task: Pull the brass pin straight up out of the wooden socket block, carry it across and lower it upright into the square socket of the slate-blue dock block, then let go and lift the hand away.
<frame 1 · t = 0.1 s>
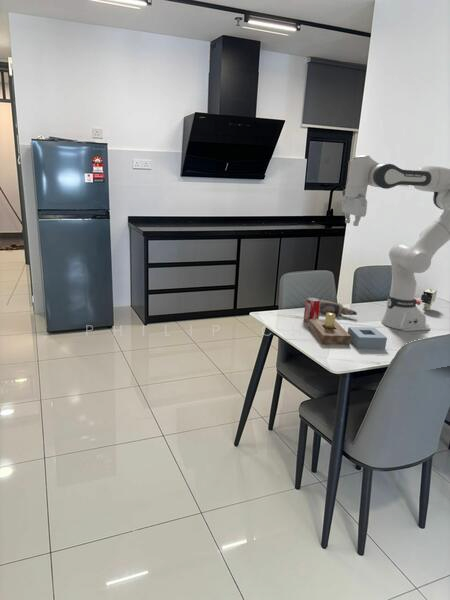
hand: (351, 224, 200), 48 cm above the table, tool pointing down, fingers open, 8 cm apart
decorative bottle: (328, 314, 228), on the table
pneumatic valve: (425, 309, 246), on the table
brass pin: (327, 335, 194), point 1 cm above the table, touching wooden socket block
soda can: (310, 323, 212), on the table
dock block: (365, 345, 189), on the table
wooden socket block: (327, 337, 195), on the table
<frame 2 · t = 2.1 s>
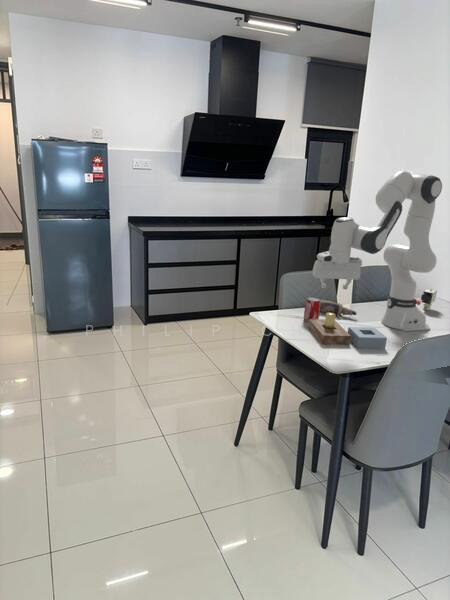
hand: (334, 288, 188), 23 cm above the table, tool pointing down, fingers open, 8 cm apart
nothing on the table moved.
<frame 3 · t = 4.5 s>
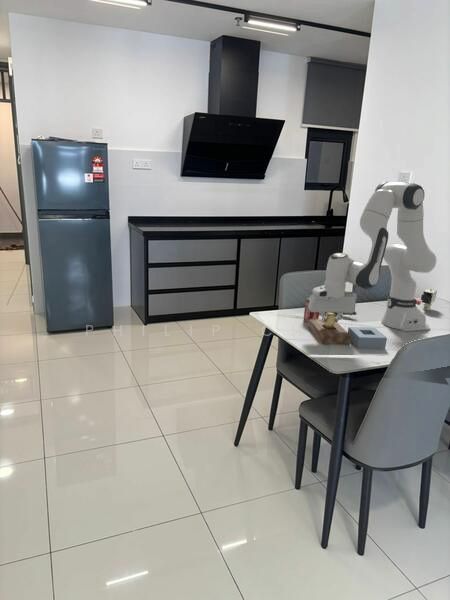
hand: (329, 321, 192), 8 cm above the table, tool pointing down, fingers closed on brass pin, 4 cm apart
brass pin: (327, 335, 194), point 1 cm above the table, touching gripper, wooden socket block
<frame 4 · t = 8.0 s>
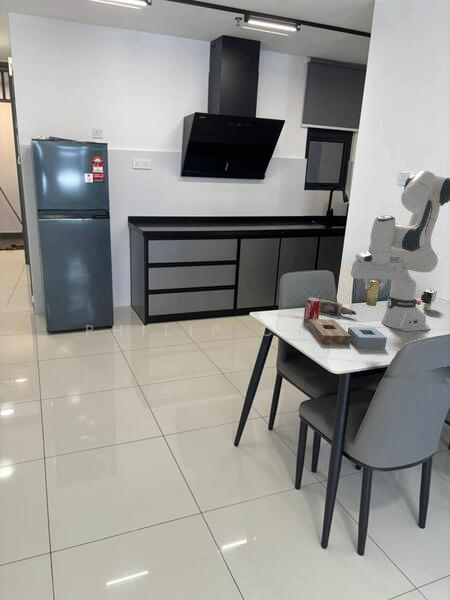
hand: (373, 289, 182), 25 cm above the table, tool pointing down, fingers closed on brass pin, 4 cm apart
brass pin: (371, 304, 184), point 18 cm above the table, touching gripper
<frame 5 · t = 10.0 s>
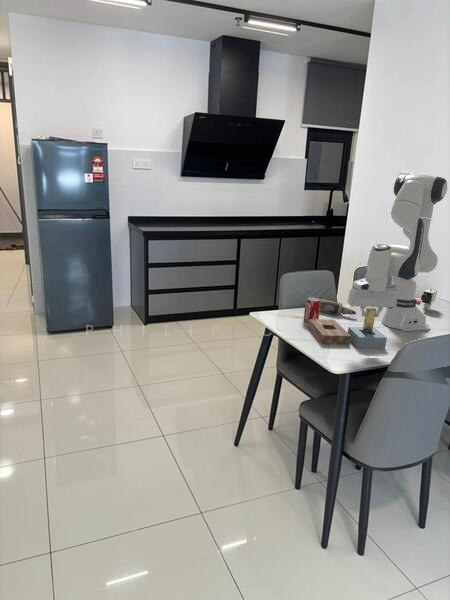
hand: (369, 316, 185), 13 cm above the table, tool pointing down, fingers closed on brass pin, 4 cm apart
brass pin: (367, 330, 187), point 7 cm above the table, touching gripper
when the fingers open (9 cm above the table, at t = 11.6 s): brass pin drops 1 cm, resting on dock block.
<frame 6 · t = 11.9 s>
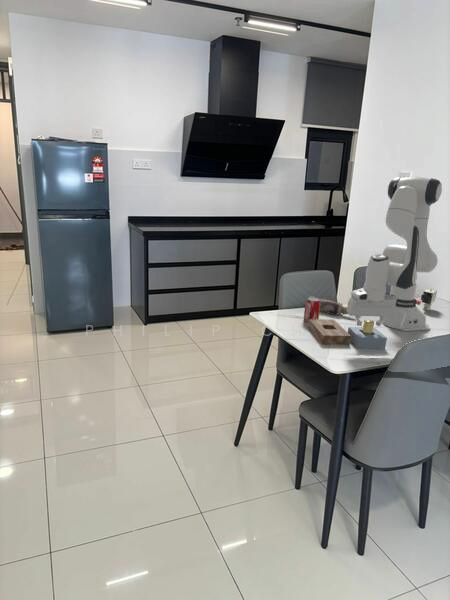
hand: (368, 325, 186), 9 cm above the table, tool pointing down, fingers open, 7 cm apart
brass pin: (365, 343, 188), point 1 cm above the table, touching dock block
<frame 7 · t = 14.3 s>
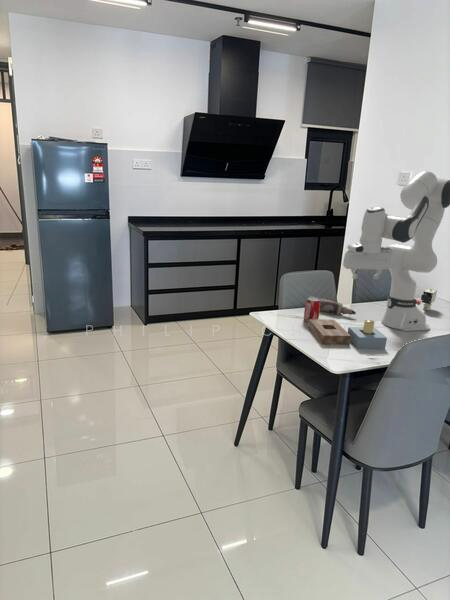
hand: (365, 279, 188), 27 cm above the table, tool pointing down, fingers open, 8 cm apart
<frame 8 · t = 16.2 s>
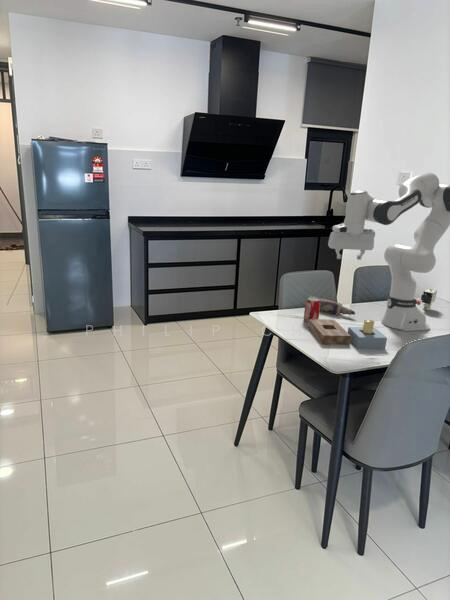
hand: (348, 259, 198), 33 cm above the table, tool pointing down, fingers open, 8 cm apart
at the end: brass pin 0.1 cm off-centre on the dock block, point 1.0 cm above the dock block's base; brass pin tilted 1°; the gripper is holding nothing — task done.
